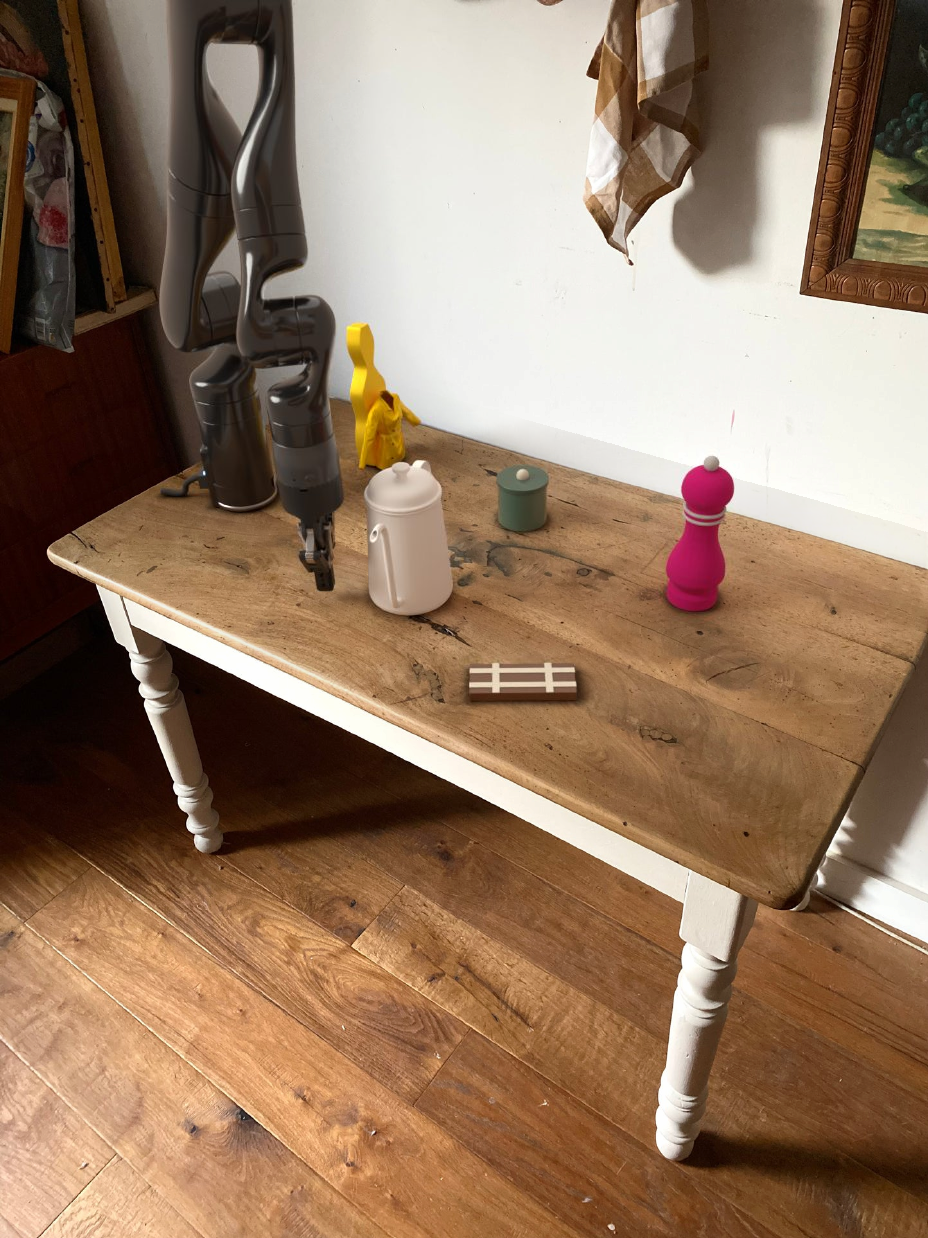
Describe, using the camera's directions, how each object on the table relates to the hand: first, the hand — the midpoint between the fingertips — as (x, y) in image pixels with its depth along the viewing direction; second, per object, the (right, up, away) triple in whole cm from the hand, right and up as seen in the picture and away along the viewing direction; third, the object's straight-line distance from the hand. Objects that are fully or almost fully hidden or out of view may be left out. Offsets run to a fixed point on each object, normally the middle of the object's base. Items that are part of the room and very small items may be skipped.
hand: (326, 587), depth 118 cm
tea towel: (+24, -12, -14) cm, 30 cm away
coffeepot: (+11, -1, +1) cm, 11 cm away
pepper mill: (+47, -1, -1) cm, 47 cm away
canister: (+26, +11, +15) cm, 32 cm away
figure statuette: (+5, +22, +30) cm, 37 cm away
